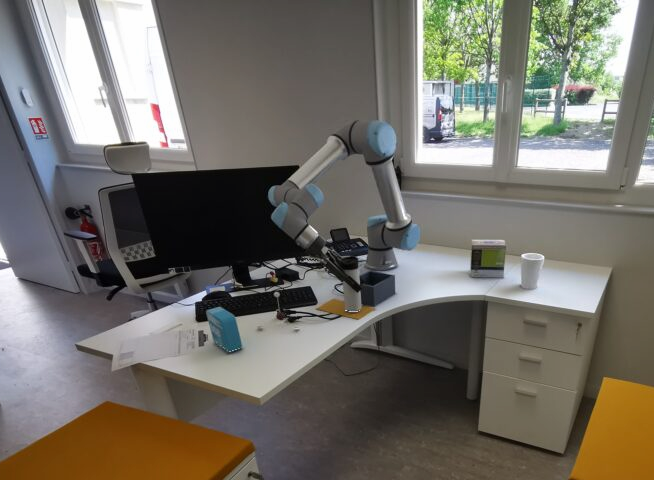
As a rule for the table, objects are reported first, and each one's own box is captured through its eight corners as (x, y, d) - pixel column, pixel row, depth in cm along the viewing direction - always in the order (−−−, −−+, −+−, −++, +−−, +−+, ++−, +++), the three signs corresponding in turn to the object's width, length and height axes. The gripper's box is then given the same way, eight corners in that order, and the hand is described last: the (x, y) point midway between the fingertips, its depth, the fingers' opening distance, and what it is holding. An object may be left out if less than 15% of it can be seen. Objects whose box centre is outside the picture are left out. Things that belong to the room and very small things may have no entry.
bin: (348, 300, 182) (346, 281, 178) (370, 288, 193) (369, 270, 189) (374, 306, 177) (373, 287, 172) (395, 293, 188) (394, 275, 184)
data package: (213, 342, 151) (204, 309, 144) (226, 338, 154) (218, 305, 147) (230, 354, 144) (221, 320, 137) (243, 350, 146) (235, 315, 140)
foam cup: (541, 284, 197) (546, 254, 190) (537, 291, 190) (541, 261, 183) (520, 281, 200) (524, 252, 193) (515, 288, 193) (518, 258, 186)
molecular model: (290, 315, 170) (284, 283, 163) (300, 331, 158) (295, 297, 152) (253, 322, 164) (246, 289, 158) (261, 339, 153) (254, 304, 146)
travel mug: (364, 308, 174) (361, 256, 164) (357, 314, 169) (353, 261, 158) (350, 306, 176) (345, 254, 165) (342, 312, 171) (337, 260, 160)
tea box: (502, 271, 212) (505, 239, 204) (503, 278, 204) (506, 245, 196) (469, 270, 213) (471, 238, 205) (469, 277, 205) (471, 244, 197)
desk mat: (315, 309, 174) (315, 308, 174) (333, 299, 183) (333, 298, 182) (358, 319, 166) (358, 318, 166) (375, 309, 174) (374, 308, 174)
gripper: (311, 242, 169) (358, 284, 177) (298, 257, 152) (351, 303, 161) (324, 227, 166) (371, 271, 174) (312, 241, 149) (365, 289, 158)
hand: (361, 286), depth 167 cm, fingers closed on travel mug, 6 cm apart
